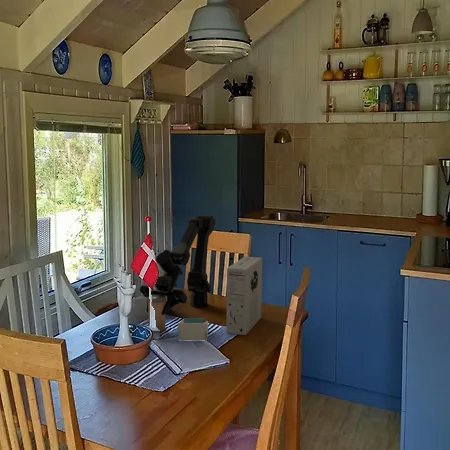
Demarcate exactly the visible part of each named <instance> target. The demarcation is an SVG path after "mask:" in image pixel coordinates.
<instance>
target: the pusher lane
mask: <svg viewBox="0 0 450 450" xmlns="http://www.w3.org/2000/svg"><path fill="white" fill-rule="evenodd" d="M177 326H178V328H177V331H178V334H177V336H178V338H177V341H178V340H205V341H207V342H208V335H209V321H208V320H205V321H204V323H184V320H181V321H180V322H178V324H177Z"/></svg>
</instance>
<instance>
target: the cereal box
mask: <svg viewBox="0 0 450 450" xmlns="http://www.w3.org/2000/svg"><path fill="white" fill-rule="evenodd" d="M262 288H263V257H256V256H243V257H242V258H240V259H239V260H237V261H235V262H234V263H232V265H229V266H228V267H227V268H226V334H232V335H239V336H241V335H242V336H246V335H247V334H248V333H249V332H250V331H251V330H252V328H253V327H255V326H256V324H257V323H258V322H259V321H260V319H262V298H263V297H262V296H263V295H262V293H263V291H262V290H263V289H262Z"/></svg>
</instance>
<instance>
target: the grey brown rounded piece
mask: <svg viewBox="0 0 450 450" xmlns="http://www.w3.org/2000/svg"><path fill="white" fill-rule="evenodd" d="M165 300H166V297H165V296H163V295H152V306H153V308H154V310H155V320H156V327H157V328H158V329H159V330H160V332H164V331H165V330H166V313H165V314H164V315H162V310H163V308H164V306H165ZM148 301H149V313H148V325H149V324H150V299H149V297H148Z"/></svg>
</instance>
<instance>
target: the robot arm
mask: <svg viewBox="0 0 450 450" xmlns="http://www.w3.org/2000/svg"><path fill="white" fill-rule="evenodd" d="M215 225H216V219H215V218H214V216H213V215H206V214H205V215H204V214H198V215H197V216H195V217H194V216H193V217H192V218H189V220H188V225H187V226H186V228H185V231H184V233H182V236H181V239H180V240H179V242H178V244H177V245H175V246H174V247H173V248H172V249H171V250H170V249H164V250H163V251H162V252H160V253H159V254H157V255H156V257H155V261H156V263H157V266H158V265H159V266H160V267H161V269H162V270H163V271H165V273H164V275H163V276H160V277H159V276H158V279H157V282H156V284H155V288H157V290H154V289H153V287H152V291H151V295H163V296H166V297H167V301H166V304H165V306H164V308H163V310H162V315H164V314H165V315H166V313H168V312H169V311H170V310H171V309H172V308H174V307H175V306H177V305H180V304H186V303H187V301H188V296H187V294H186V293H185V291H184V290H182V289H178V288H177V286H178V284H177V281H178V279H179V277H180V276H183V270H182V267H180V266H187V264H188V263H189V261H190V257H191V252H190V250H191V247H192V245H193V244H194V241H195V239H196V237H197V239H196V245H195V252H194V253H195V254H194V260H193V268H192V269H191V270H190V271H188V273H187V279H186V285H187V291H188V292H191V294H190V302H189V305H190V306H193V307H194V308H195V309H196V308H204V307H208V306H210V304H209V303H208V294H210V293H211V290H212V286H211V284H210V282H209V281H208V277H209V276H208V273H207V271H206V262H207V251H208V246H209V239H210V236H211V235H212V233H213V232H214V229H215ZM147 285H148V284H142V285H141V286H140V287H139V289H138V291H139V292H140V294H142V295H143V297H144V298H146V312H147V313H148V314H149V301H148V297H149V288H148V286H147ZM176 288H177V289H176Z"/></svg>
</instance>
